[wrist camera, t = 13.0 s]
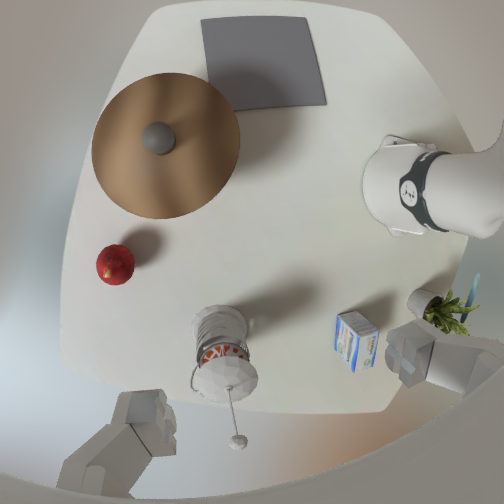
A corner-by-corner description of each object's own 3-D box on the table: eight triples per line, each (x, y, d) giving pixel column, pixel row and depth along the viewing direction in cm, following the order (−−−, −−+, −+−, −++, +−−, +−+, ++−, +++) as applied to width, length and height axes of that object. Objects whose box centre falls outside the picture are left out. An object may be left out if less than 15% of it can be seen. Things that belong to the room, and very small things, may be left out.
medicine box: (336, 314, 50) (358, 336, 42) (356, 310, 51) (380, 330, 42) (333, 349, 52) (353, 373, 44) (353, 344, 53) (374, 367, 44)
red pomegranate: (105, 238, 40) (86, 250, 32) (139, 241, 41) (126, 253, 33) (105, 274, 41) (88, 292, 33) (138, 277, 42) (127, 296, 34)
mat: (303, 18, 36) (304, 17, 35) (324, 105, 41) (325, 104, 40) (200, 21, 33) (200, 19, 33) (214, 113, 38) (214, 113, 38)
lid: (227, 66, 28) (231, 47, 23) (249, 202, 32) (258, 205, 27) (89, 97, 26) (73, 84, 21) (108, 231, 30) (93, 240, 25)
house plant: (378, 333, 53) (425, 374, 38) (396, 270, 50) (453, 300, 35) (422, 328, 56) (467, 361, 40) (439, 273, 53) (491, 297, 38)
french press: (259, 326, 48) (307, 435, 24) (215, 369, 48) (233, 484, 24) (215, 293, 45) (234, 402, 21) (172, 340, 45) (160, 458, 22)
